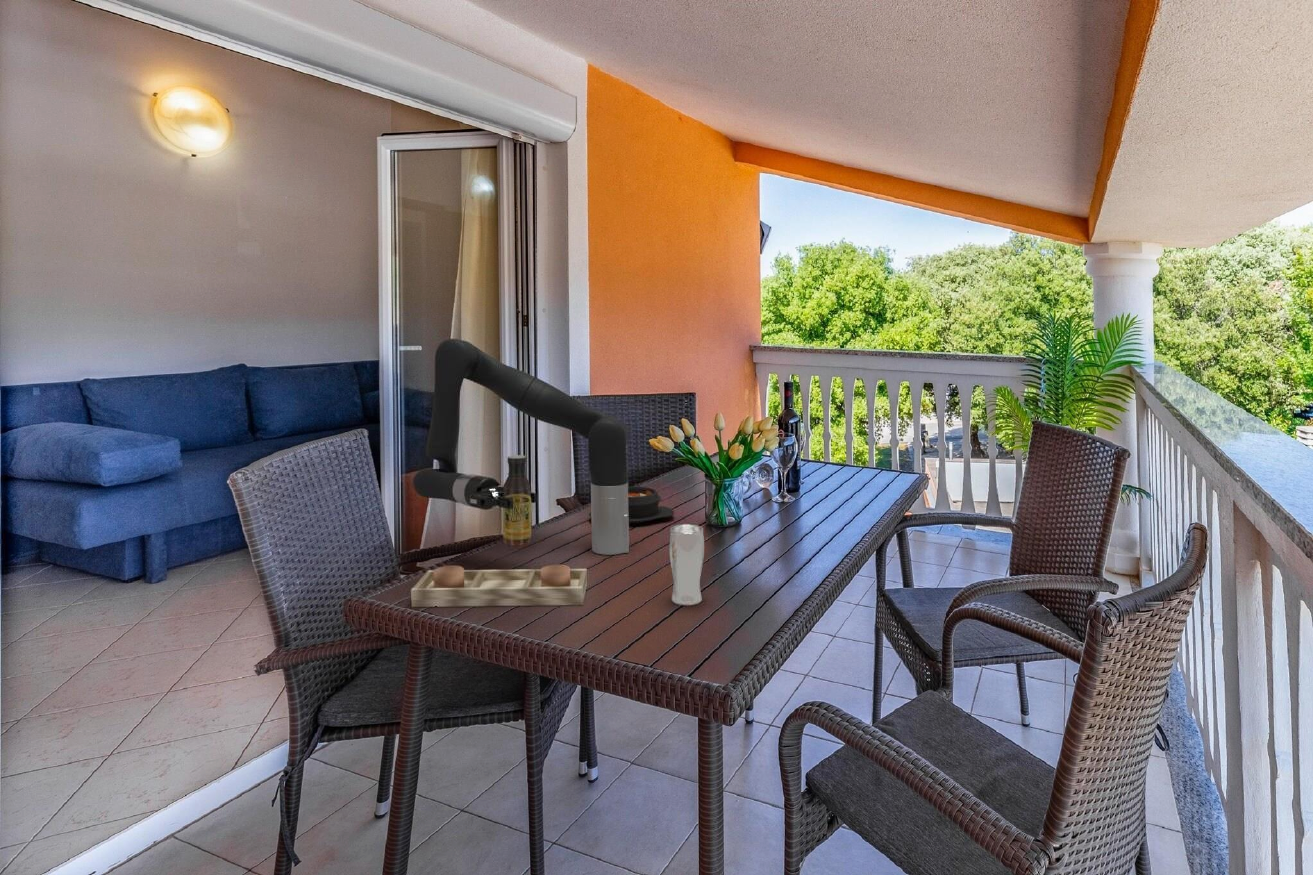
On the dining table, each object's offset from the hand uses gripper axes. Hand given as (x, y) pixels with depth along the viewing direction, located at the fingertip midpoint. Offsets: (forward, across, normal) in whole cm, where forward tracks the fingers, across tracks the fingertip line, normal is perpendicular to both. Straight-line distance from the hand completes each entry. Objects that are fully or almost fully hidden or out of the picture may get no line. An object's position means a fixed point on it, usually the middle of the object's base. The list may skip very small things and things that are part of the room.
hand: (523, 501), depth 160 cm
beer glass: (+37, +10, +18) cm, 42 cm away
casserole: (-14, +53, +18) cm, 57 cm away
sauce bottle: (-2, 0, +10) cm, 10 cm away
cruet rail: (+5, -11, +17) cm, 21 cm away
